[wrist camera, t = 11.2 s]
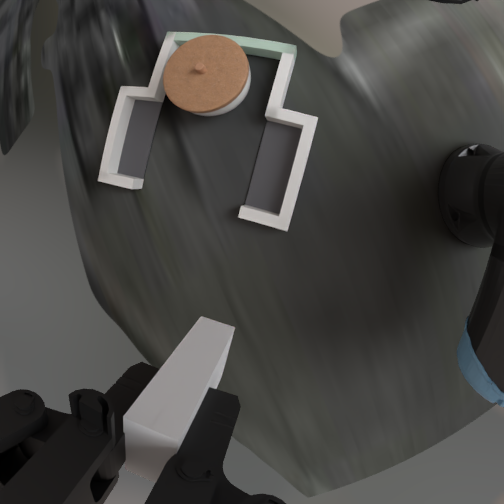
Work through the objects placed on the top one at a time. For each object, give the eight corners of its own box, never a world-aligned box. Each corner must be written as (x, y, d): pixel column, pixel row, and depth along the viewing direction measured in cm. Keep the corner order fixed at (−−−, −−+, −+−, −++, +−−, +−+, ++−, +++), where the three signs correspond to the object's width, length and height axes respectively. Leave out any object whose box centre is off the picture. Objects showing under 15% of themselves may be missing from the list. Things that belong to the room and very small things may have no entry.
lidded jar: (211, 138, 41) (188, 127, 32) (171, 88, 40) (141, 69, 31) (273, 92, 38) (264, 68, 29) (228, 44, 37) (210, 14, 28)
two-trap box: (331, 62, 36) (333, 54, 33) (288, 228, 42) (287, 231, 39) (148, 39, 38) (140, 32, 35) (108, 180, 44) (97, 181, 41)
